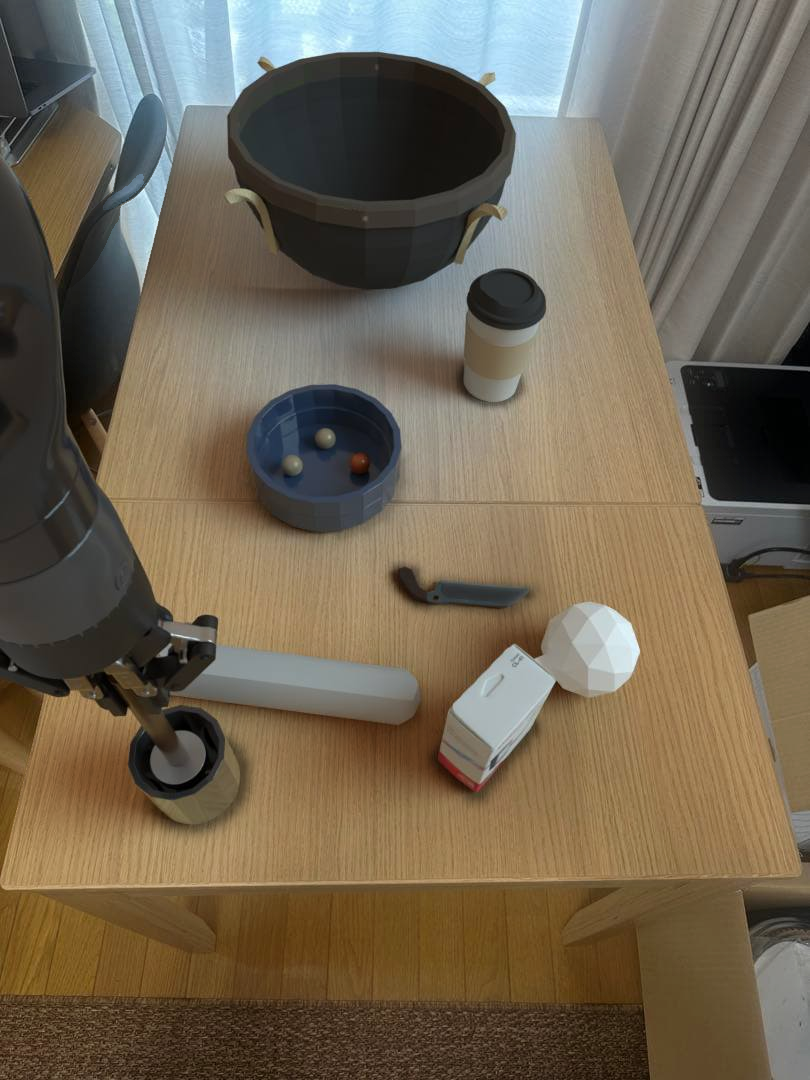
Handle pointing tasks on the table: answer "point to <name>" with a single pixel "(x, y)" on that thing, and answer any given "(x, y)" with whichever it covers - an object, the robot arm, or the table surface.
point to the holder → (210, 790)
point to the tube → (306, 685)
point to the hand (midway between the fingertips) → (139, 701)
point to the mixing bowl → (324, 457)
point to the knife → (462, 592)
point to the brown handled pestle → (168, 745)
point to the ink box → (493, 716)
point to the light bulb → (589, 649)
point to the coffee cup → (500, 331)
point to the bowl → (370, 164)
